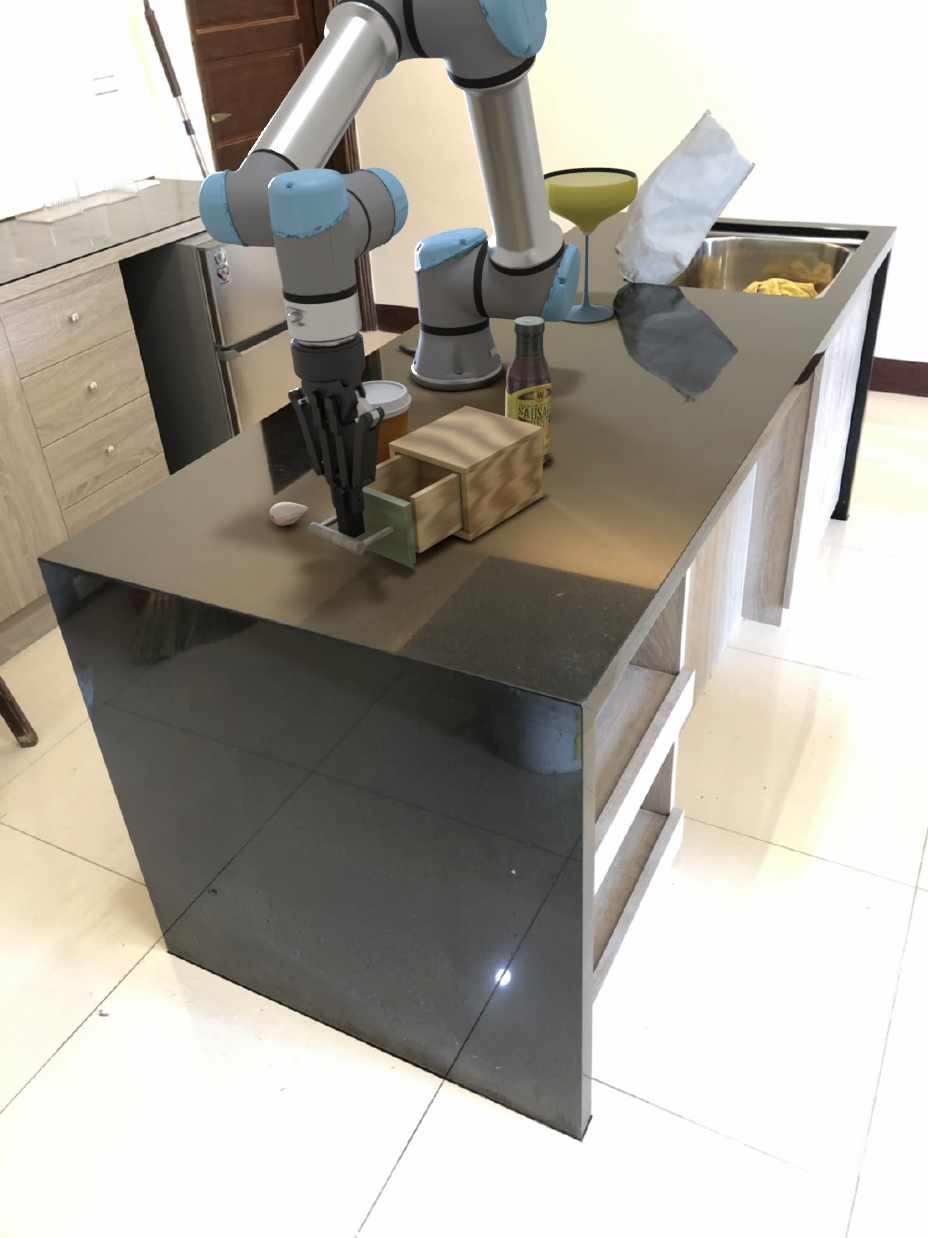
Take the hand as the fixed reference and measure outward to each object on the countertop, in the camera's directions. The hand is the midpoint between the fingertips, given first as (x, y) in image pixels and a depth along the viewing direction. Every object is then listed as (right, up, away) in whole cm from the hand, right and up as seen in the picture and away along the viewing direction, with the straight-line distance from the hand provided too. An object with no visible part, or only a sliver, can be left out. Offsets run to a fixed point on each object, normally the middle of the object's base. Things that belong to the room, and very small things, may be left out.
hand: (352, 535), depth 117 cm
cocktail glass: (+37, +50, +79) cm, 100 cm away
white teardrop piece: (-10, +3, +14) cm, 17 cm away
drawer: (+5, 0, +6) cm, 8 cm away
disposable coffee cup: (+2, +10, +24) cm, 26 cm away
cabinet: (+14, +5, +15) cm, 21 cm away
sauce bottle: (+22, +12, +25) cm, 36 cm away
